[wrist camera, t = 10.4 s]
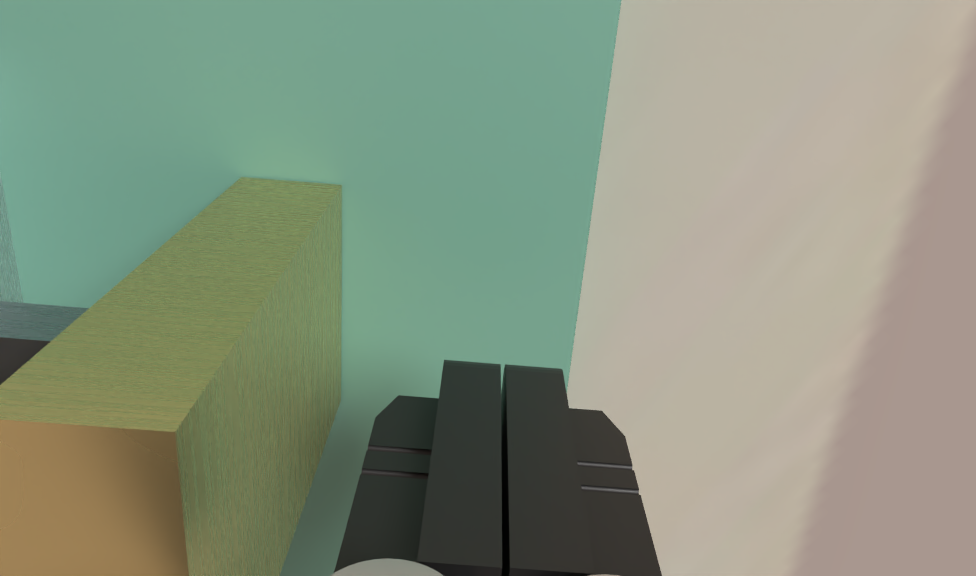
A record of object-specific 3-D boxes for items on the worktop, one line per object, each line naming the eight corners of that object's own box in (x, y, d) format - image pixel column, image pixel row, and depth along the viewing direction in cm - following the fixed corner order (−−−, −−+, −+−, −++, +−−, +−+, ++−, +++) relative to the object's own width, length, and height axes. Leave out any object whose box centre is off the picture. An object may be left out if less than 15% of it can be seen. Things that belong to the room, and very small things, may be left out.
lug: (50, 161, 12) (-442, 387, 6) (342, 185, 12) (174, 431, 6) (83, 380, 14) (-275, 748, 7) (340, 400, 14) (208, 779, 7)
